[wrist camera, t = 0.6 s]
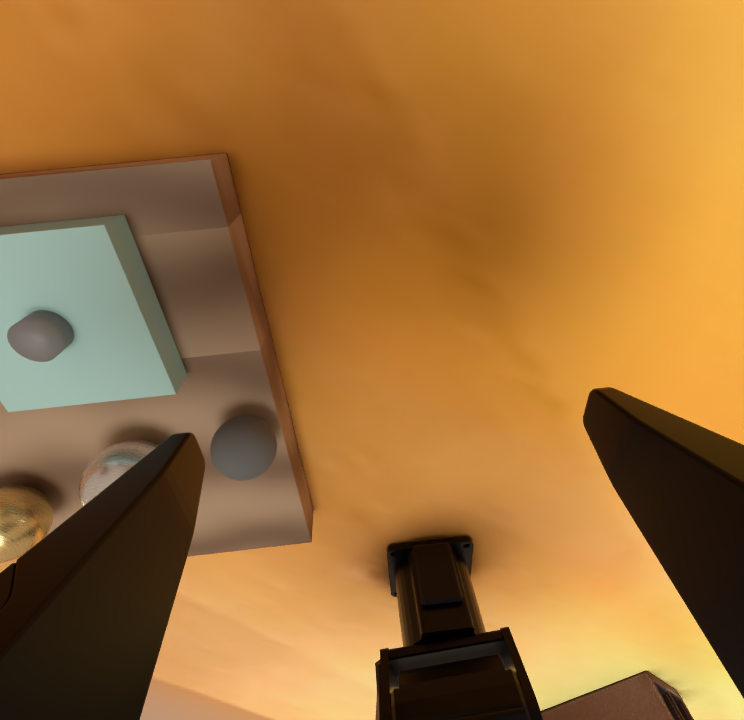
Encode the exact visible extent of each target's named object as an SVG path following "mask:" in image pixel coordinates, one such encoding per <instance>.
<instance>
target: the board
mask: <svg viewBox="0 0 744 720" xmlns="http://www.w3.org/2000/svg"><path fill="white" fill-rule="evenodd" d="M118 215H125V217H126V220H127V223H128V225H129V228H130V230H131V233H132V235H133V238H134V240H135V243H136V245H137V248H138V250H139V253H140V256H141V258H142V261H143V263H144V266H145V268H146V271H147V273H148V276H149V278H150V281H151V284H152V286H153V289H154V291H155V294H156V296H157V299H158V301H159V304H160V306H161V309H162V311H163V314H164V317H165V319H166V322H167V324H168V327H169V329H170V332H171V334H172V337H173V339H174V342H175V345H176V347H177V350H178V352H179V355H180V357H181V360H182V362H183V365H184V367H185V370H186V373H187V376H186V378H185V379H184V381H183V383H182V385H181V386H180V388H179V390H178V392H177V393H176V394H173V395H164V396H155V397H145V398H136V399H127V400H117V401H108V402H99V403H89V404H80V405H71V406H61V407H52V408H43V409H33V410H24V411H15V412H8V411H7V410H6V408H5V407H4V406H3V404H2V403H1V402H0V488H1V487H5V486H12V485H22V486H28V487H32V488H35V489H37V490H39V491H41V492H42V493H44V494H45V495H46V496H47V497H48V499H49V500H50V502H51V504H52V507H53V512H54V516H53V522H52V526H51V528H50V530H49V532H48V534H49V533H51V532H52V531H53V530H54V529H56V528H57V527H58V526H59V525H61V524H62V523H63V522H64V521H66V520H67V519H68V518H69V517H71V516H72V515H73V514H74V513H76V512H77V511H78V510H79V509H80V508H82V506H81V503H80V499H79V483H80V479H81V476H82V474H83V472H84V470H85V468H86V467H87V465H88V464H89V463H90V461H91V460H92V459H93V458H94V457H95V456H96V455H97V454H99V453H100V452H101V451H103V450H104V449H106V448H108V447H110V446H112V445H114V444H116V443H120V442H124V441H130V440H142V441H148V442H151V443H154V444H156V445H158V446H159V445H160V444H161V443H162V442H163V441H165V440H166V439H167V438H168V437H170V436H171V435H173V434H177V433H186V432H190V433H193V434H194V435H195V437H196V439H197V442H198V444H199V446H200V449H201V451H202V454H203V456H204V459H205V472H204V478H203V484H202V490H201V496H200V501H199V507H198V513H197V519H196V524H195V529H194V534H193V537H192V541H191V545H190V548H189V552H188V555H187V556H196V555H204V554H213V553H222V552H230V551H239V550H248V549H256V548H265V547H274V546H282V545H291V544H300V543H308V542H312V525H313V507H312V503H311V499H310V494H309V490H308V486H307V482H306V478H305V474H304V470H303V466H302V462H301V457H300V453H299V449H298V445H297V441H296V437H295V433H294V429H293V425H292V420H291V416H290V412H289V408H288V404H287V400H286V396H285V392H284V388H283V384H282V379H281V375H280V371H279V367H278V363H277V359H276V355H275V351H274V347H273V342H272V338H271V334H270V330H269V326H268V322H267V318H266V314H265V310H264V305H263V301H262V297H261V293H260V289H259V285H258V281H257V277H256V273H255V268H254V264H253V260H252V256H251V252H250V248H249V244H248V240H247V236H246V231H245V227H244V223H243V219H242V215H241V211H240V207H239V203H238V199H237V194H236V190H235V186H234V182H233V178H232V174H231V170H230V166H229V162H228V157H227V153H221V154H210V155H200V156H189V157H178V158H168V159H157V160H147V161H136V162H126V163H115V164H105V165H94V166H84V167H73V168H63V169H52V170H42V171H31V172H21V173H10V174H0V227H5V226H15V225H25V224H36V223H46V222H56V221H66V220H77V219H87V218H97V217H107V216H118ZM244 415H246V416H254V417H257V418H260V419H262V420H263V421H265V422H266V423H267V424H268V425H269V426H270V427H271V428H272V430H273V432H274V434H275V437H276V441H277V451H276V456H275V458H274V461H273V462H272V464H271V466H270V467H269V468H268V469H267V470H266V471H265V472H264V473H263V474H261V475H260V476H258V477H256V478H253V479H250V480H244V481H239V480H233V479H230V478H227V477H225V476H224V475H222V474H221V473H220V472H219V471H218V470H217V469H216V467H215V466H214V464H213V462H212V459H211V454H210V446H211V441H212V438H213V436H214V434H215V432H216V431H217V429H218V428H219V427H220V426H221V425H222V424H223V423H225V422H226V421H228V420H229V419H232V418H234V417H238V416H244ZM48 534H47V535H48ZM47 535H46V536H47Z"/></svg>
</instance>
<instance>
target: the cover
mask: <svg viewBox="0 0 744 720" xmlns="http://www.w3.org/2000/svg"><path fill="white" fill-rule="evenodd" d="M186 376H187V373H186V370H185V367H184V365H183V362H182V360H181V357H180V355H179V352H178V350H177V347H176V345H175V342H174V339H173V337H172V334H171V332H170V329H169V327H168V324H167V322H166V319H165V317H164V314H163V311H162V309H161V306H160V304H159V301H158V299H157V296H156V294H155V291H154V289H153V286H152V284H151V281H150V278H149V276H148V273H147V271H146V268H145V266H144V263H143V261H142V258H141V256H140V253H139V250H138V248H137V245H136V243H135V240H134V238H133V235H132V233H131V230H130V228H129V225H128V223H127V220H126V217H125V215H118V216H107V217H97V218H87V219H77V220H66V221H56V222H46V223H36V224H25V225H15V226H5V227H0V402H1V403H2V404H3V406H4V407H5V408H6V410H7V411H8V412H15V411H24V410H33V409H43V408H52V407H61V406H71V405H80V404H89V403H99V402H108V401H117V400H127V399H136V398H145V397H155V396H164V395H173V394H176V393H177V392H178V390H179V388H180V386H181V385H182V383H183V381H184V379H185V378H186Z"/></svg>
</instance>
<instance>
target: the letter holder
mask: <svg viewBox="0 0 744 720" xmlns="http://www.w3.org/2000/svg"><path fill="white" fill-rule="evenodd" d="M541 715H542V718H543V720H694V719H693V717H692V716H691V714H690V712H689V710H688V709H687V707H686V705H685V703H684V702H683V700H682V698H681V696H680V695H679V694H678V692H677V691H676V690H675V689H674V688H672V687H671V686H669V685H668V684H666V683H665V682H663V681H662V680H660V679H659V678H657V677H656V676H654V675H653V674H651V673H649V672H648V671H644V672H642V673H639V674H636V675H634V676H631V677H629V678H626V679H623V680H621V681H618V682H616V683H613V684H611V685H608V686H605V687H603V688H600V689H598V690H595V691H593V692H590V693H587V694H585V695H582V696H580V697H577V698H574V699H572V700H569V701H567V702H564V703H561V704H559V705H556V706H554V707H551V708H549V709H546V710H543V711H541Z"/></svg>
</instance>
